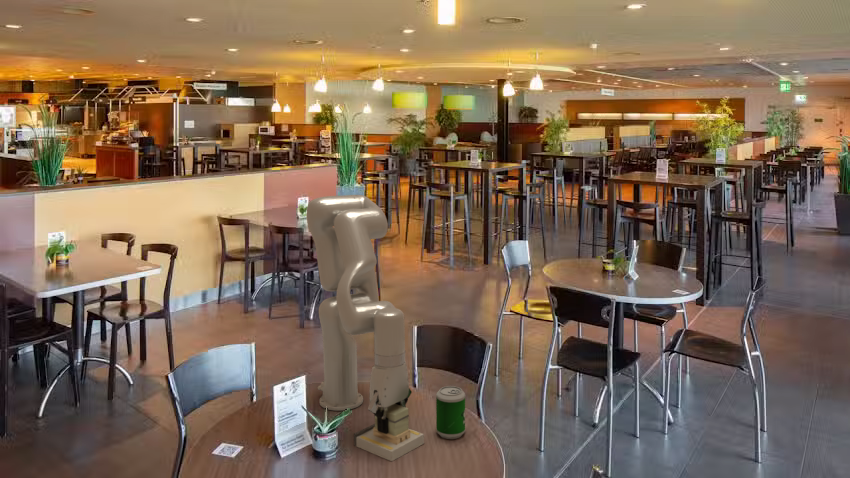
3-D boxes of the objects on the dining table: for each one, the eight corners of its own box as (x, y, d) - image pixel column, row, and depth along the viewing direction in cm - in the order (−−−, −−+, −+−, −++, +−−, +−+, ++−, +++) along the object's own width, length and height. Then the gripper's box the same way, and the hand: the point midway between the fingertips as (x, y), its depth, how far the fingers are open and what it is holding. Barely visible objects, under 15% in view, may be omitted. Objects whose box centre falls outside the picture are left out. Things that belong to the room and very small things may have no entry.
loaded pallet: (373, 435, 169) (372, 407, 167) (387, 428, 172) (386, 400, 171) (396, 444, 164) (396, 415, 162) (410, 437, 167) (410, 409, 166)
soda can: (462, 441, 170) (463, 397, 168) (433, 439, 172) (433, 394, 170) (467, 428, 178) (467, 385, 176) (439, 426, 179) (438, 383, 177)
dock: (354, 445, 168) (353, 433, 168) (386, 429, 178) (386, 417, 177) (391, 461, 160) (391, 448, 160) (423, 443, 170) (423, 431, 169)
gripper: (401, 347, 174) (402, 413, 177) (354, 364, 161) (355, 436, 164) (423, 352, 169) (424, 421, 172) (376, 371, 156) (378, 444, 159)
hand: (390, 427), depth 168 cm, fingers closed on loaded pallet, 5 cm apart
